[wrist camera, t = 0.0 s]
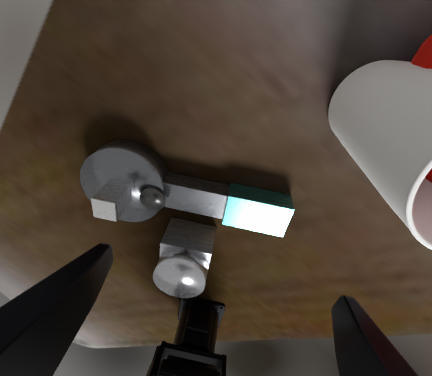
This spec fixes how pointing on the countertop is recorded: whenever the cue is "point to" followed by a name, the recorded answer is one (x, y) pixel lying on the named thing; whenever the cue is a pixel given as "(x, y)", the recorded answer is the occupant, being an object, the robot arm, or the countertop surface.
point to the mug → (390, 135)
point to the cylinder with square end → (184, 258)
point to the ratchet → (173, 191)
